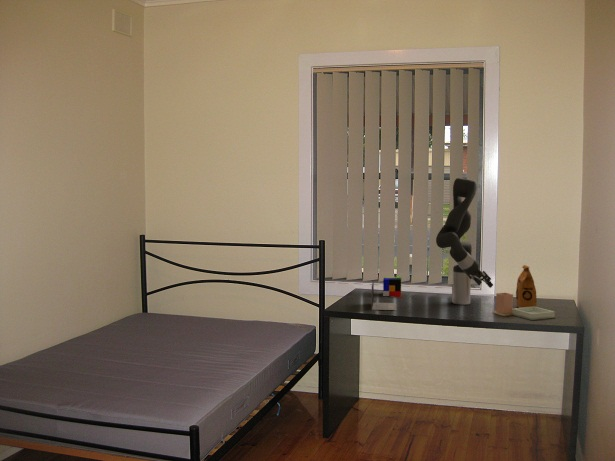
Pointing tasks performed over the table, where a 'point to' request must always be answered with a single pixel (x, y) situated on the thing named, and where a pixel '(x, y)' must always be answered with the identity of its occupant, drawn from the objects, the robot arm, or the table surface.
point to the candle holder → (502, 313)
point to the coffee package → (525, 289)
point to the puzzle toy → (392, 286)
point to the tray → (533, 313)
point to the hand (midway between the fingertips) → (485, 285)
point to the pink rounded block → (504, 302)
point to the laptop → (381, 305)
